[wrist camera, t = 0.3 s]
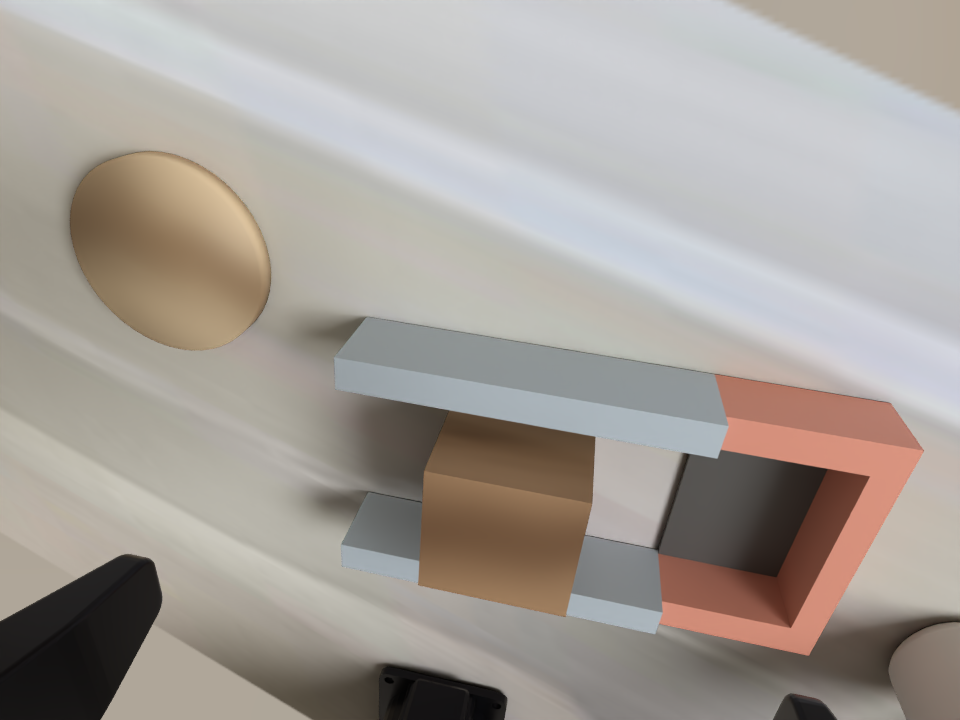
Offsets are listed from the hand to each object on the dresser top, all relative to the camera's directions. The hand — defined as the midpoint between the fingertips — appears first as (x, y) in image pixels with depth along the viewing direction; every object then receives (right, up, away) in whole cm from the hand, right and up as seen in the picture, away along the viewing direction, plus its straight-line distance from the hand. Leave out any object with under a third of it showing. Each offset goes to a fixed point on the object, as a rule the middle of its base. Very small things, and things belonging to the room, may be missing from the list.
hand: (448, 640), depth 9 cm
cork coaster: (-10, +8, +13) cm, 19 cm away
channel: (+2, 0, +15) cm, 15 cm away
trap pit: (+10, -1, +14) cm, 17 cm away
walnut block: (+2, 0, +15) cm, 15 cm away
